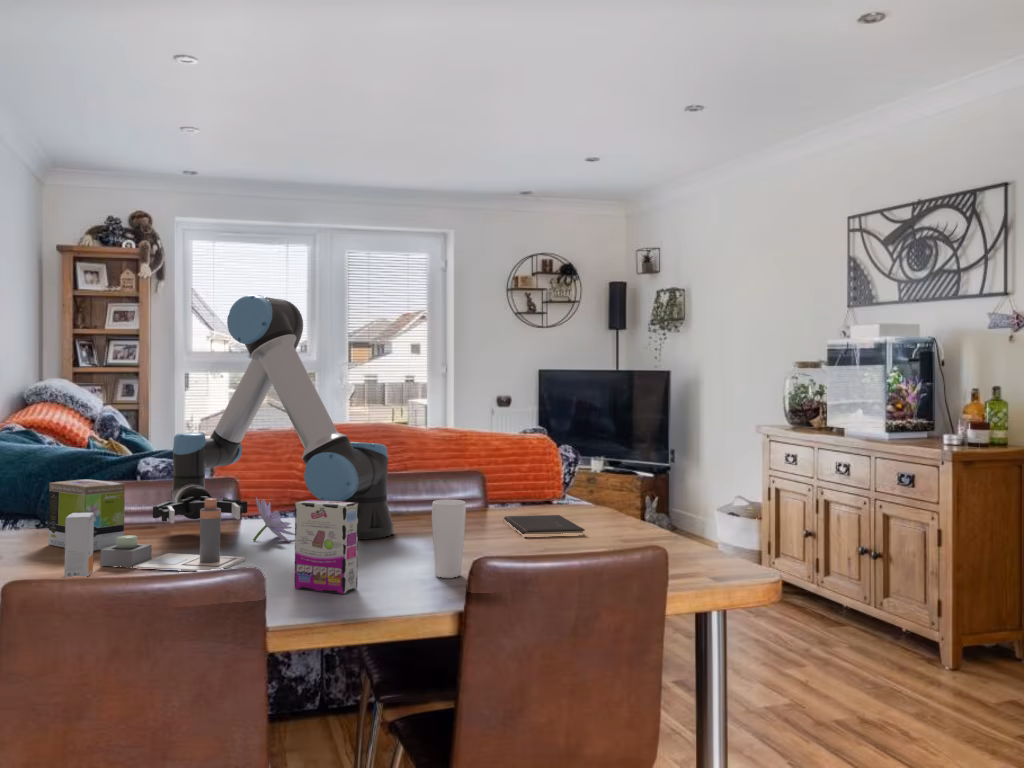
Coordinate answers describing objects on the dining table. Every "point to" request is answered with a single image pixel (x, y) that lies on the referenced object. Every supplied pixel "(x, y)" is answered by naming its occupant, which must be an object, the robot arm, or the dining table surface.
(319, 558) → the candy bar box
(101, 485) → the tea box
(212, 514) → the grey and orange bottle
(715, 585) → the dining table surface
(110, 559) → the button housing
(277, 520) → the water lily
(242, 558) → the board
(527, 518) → the hardcover book
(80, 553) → the skincare box
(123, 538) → the button
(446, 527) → the drinking glass
